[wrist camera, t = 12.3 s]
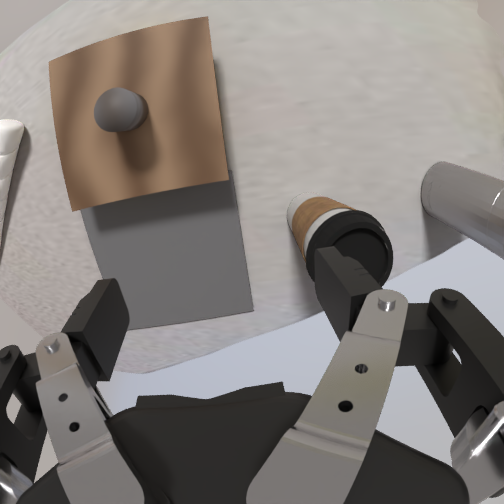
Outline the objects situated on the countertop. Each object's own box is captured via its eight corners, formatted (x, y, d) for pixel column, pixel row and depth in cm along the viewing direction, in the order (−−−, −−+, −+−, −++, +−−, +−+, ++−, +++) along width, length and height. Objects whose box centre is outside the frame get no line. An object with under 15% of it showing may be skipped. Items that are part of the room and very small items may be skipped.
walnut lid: (207, 18, 23) (207, -2, 18) (228, 178, 31) (232, 190, 26) (51, 62, 22) (25, 55, 17) (75, 209, 30) (52, 226, 24)
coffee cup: (293, 254, 40) (333, 321, 27) (265, 201, 37) (298, 250, 23) (346, 225, 40) (406, 277, 26) (323, 170, 36) (386, 201, 23)
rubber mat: (231, 170, 35) (231, 171, 34) (253, 309, 43) (253, 310, 43) (79, 203, 33) (78, 204, 33) (124, 328, 42) (124, 330, 42)
